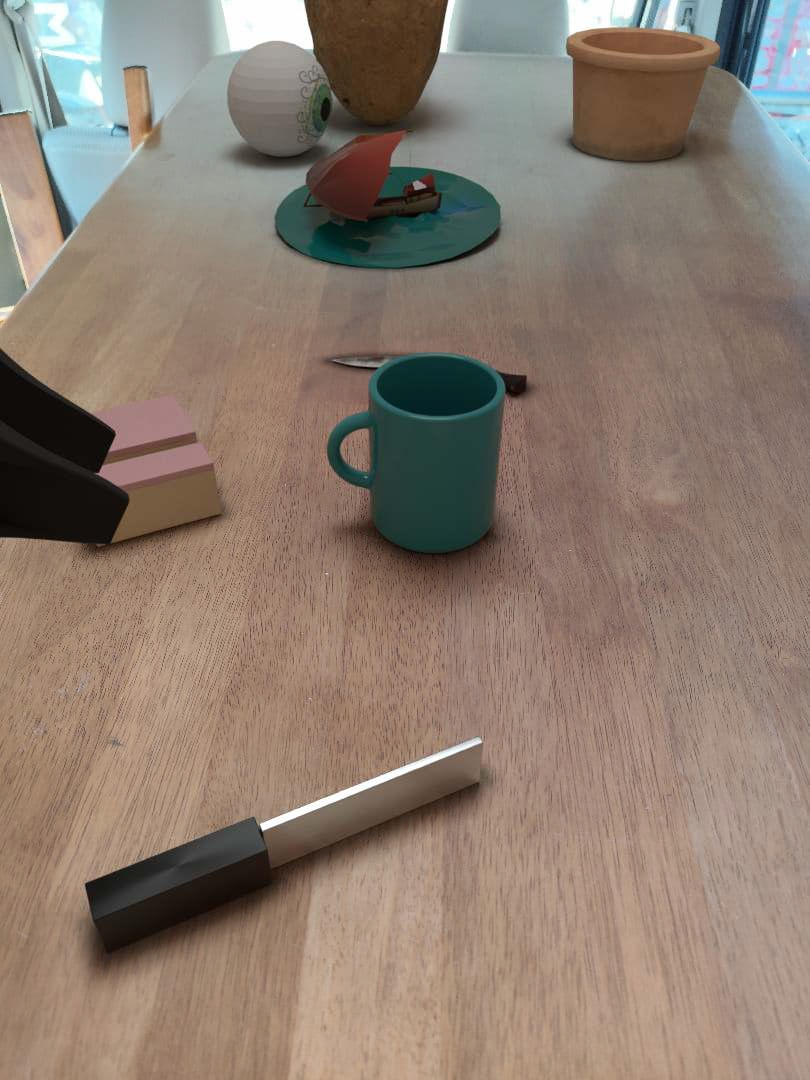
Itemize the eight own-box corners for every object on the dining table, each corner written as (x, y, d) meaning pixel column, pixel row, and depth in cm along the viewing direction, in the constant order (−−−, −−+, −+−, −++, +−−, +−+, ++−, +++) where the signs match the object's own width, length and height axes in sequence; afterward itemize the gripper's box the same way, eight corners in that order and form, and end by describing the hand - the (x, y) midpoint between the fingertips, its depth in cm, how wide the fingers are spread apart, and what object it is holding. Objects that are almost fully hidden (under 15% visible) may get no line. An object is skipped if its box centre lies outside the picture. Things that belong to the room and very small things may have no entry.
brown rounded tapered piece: (469, 116, 152) (478, -61, 136) (415, 152, 136) (419, -44, 120) (349, 100, 159) (345, -70, 143) (285, 133, 143) (273, -55, 127)
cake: (85, 512, 66) (71, 460, 64) (70, 470, 71) (56, 419, 68) (203, 481, 70) (195, 431, 67) (182, 443, 74) (174, 393, 71)
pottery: (696, 173, 129) (719, 62, 120) (544, 158, 134) (555, 50, 125) (701, 133, 145) (722, 32, 136) (565, 121, 150) (577, 23, 141)
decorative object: (293, 177, 126) (285, 58, 117) (211, 158, 132) (198, 44, 123) (354, 150, 136) (351, 39, 127) (275, 135, 142) (267, 27, 133)
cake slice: (97, 547, 63) (83, 494, 60) (89, 523, 65) (74, 471, 62) (221, 514, 66) (213, 462, 64) (209, 492, 69) (201, 441, 66)
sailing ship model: (256, 197, 120) (243, 109, 112) (453, 166, 125) (455, 80, 118) (306, 297, 100) (295, 200, 93) (536, 255, 106) (545, 160, 98)
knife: (322, 364, 82) (337, 343, 86) (323, 379, 83) (338, 357, 87) (524, 383, 79) (530, 360, 83) (523, 397, 80) (529, 374, 84)
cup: (333, 482, 70) (327, 350, 63) (488, 482, 70) (499, 351, 63) (326, 557, 63) (318, 419, 56) (498, 558, 63) (512, 420, 56)
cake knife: (106, 954, 41) (91, 916, 39) (97, 916, 42) (82, 878, 40) (486, 792, 48) (491, 752, 46) (468, 764, 49) (471, 724, 47)
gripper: (-301, 282, 24) (171, 460, 31) (-187, 216, 37) (135, 354, 43) (-369, 505, 26) (92, 629, 33) (-238, 371, 38) (79, 481, 45)
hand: (112, 483), depth 38 cm, fingers open, 7 cm apart
